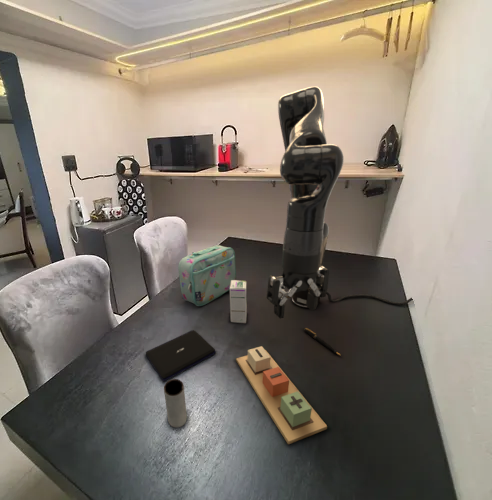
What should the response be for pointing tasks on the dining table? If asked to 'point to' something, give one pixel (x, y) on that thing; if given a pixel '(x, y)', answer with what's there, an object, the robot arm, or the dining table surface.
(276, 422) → the wood board
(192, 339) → the laptop
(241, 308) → the syrup box
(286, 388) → the orange slotted cube
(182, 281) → the lunch box
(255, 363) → the cream slotted cube
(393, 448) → the dining table surface
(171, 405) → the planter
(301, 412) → the green plus block
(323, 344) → the fountain pen
